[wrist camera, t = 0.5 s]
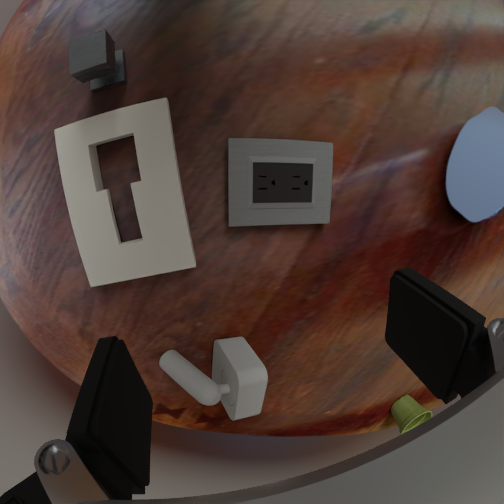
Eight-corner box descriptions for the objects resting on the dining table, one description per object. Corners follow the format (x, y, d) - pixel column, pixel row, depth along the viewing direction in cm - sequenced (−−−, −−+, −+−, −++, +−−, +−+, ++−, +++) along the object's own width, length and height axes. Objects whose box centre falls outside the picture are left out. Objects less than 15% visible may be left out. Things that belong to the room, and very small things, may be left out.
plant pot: (378, 419, 60) (394, 442, 52) (395, 392, 57) (413, 416, 49) (403, 412, 62) (419, 433, 54) (420, 387, 59) (438, 408, 51)
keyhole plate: (64, 131, 29) (54, 129, 26) (168, 102, 31) (166, 97, 28) (97, 277, 36) (90, 287, 33) (195, 258, 38) (196, 266, 35)
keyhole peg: (92, 62, 27) (67, 41, 18) (124, 52, 27) (107, 27, 19) (94, 92, 28) (68, 77, 20) (127, 82, 29) (108, 63, 21)
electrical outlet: (326, 143, 36) (334, 143, 34) (323, 219, 40) (330, 224, 38) (226, 139, 34) (228, 138, 32) (227, 222, 37) (229, 227, 35)
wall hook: (156, 332, 39) (173, 389, 29) (234, 324, 44) (269, 372, 34) (159, 379, 42) (177, 436, 32) (229, 370, 47) (259, 418, 37)
